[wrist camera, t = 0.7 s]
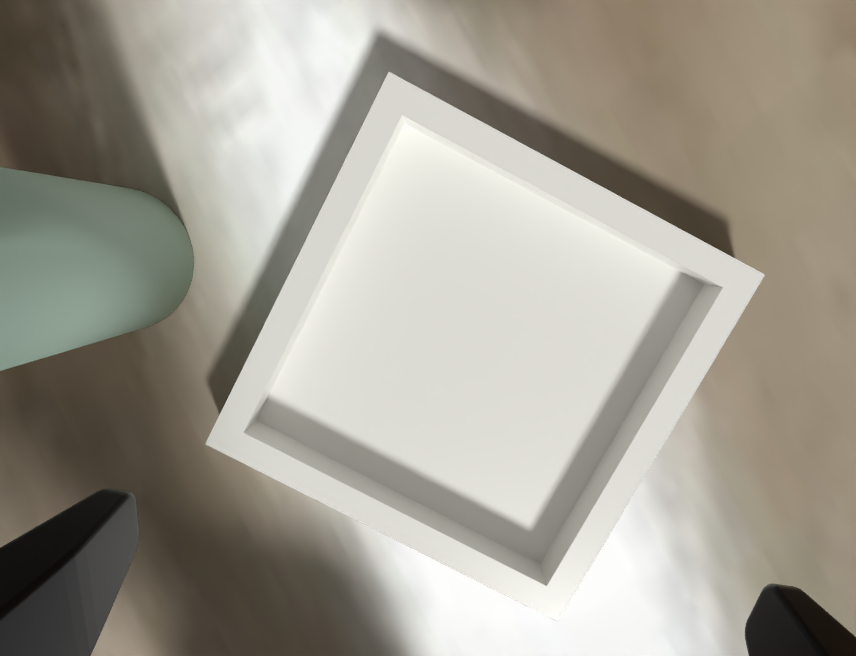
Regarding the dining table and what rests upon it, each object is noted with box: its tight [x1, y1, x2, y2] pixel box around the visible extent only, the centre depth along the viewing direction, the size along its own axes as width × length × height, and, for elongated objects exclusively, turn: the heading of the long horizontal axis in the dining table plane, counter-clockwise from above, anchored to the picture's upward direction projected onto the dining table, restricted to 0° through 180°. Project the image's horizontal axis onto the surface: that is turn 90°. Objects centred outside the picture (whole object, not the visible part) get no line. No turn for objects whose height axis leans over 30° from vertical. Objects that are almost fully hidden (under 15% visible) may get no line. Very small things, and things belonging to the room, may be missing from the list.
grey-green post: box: [0, 167, 194, 371], centre depth 18 cm, size 5×5×12 cm
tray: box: [206, 72, 765, 622], centre depth 23 cm, size 14×14×2 cm
